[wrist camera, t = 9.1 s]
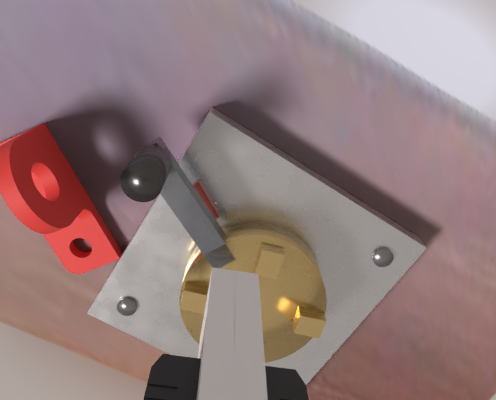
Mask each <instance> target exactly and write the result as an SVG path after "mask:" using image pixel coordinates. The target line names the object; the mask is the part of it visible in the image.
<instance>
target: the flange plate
mask: <svg viewBox="0 0 496 400" xmlns="http://www.w3.org/2000/svg"><path fill="white" fill-rule="evenodd" d="M178 164H179V166H180V167H181V169H182V170H183V172H184V173H185V175H186V176H187V178H188V179H189V181H190V182H191V184H192V185H193V187H194V188H195V189H196V191H197V192H198V194H199V195H200V197H201V198H202V200H203V201H204V203H205V204H206V206H207V207H208V209H209V210H210V212H211V213H212V215H213V216H214V218H215V219H216V221H217V222H218V224H219V225H220V227H221V228H224V227H226V226H229V225H232V224H237V223H242V222H263V223H269V224H273V225H277V226H280V227H282V228H284V229H287V230H289V231H290V232H292V233H294V234H295V235H297V236H298V237H299V238H300V239H302V240H303V241H304V242H305V243H306V245H307V246H308V247H309V248H310V250H311V251H312V252H313V254H314V256H315V258H316V260H317V263H318V266H319V269H320V273H321V276H322V279H323V283H324V286H325V290H326V296H327V305H326V312H325V318H326V324H325V326H324V329H323V331H322V334H321V336H320V339H319V338H315V337H313V338H312V339H311V340H310V341H309V342H308V343H307V344H306V345H305V346H303V347H302V348H301V349H299V350H298V351H296V352H295V353H293V354H291V355H289V356H287V357H284V358H282V359H279V360H275V361H272V362H266V363H265V366H271V367H279V368H287V369H295V370H296V371H297V372H298V374H299V375H300V377H301V378H302V380H303V382H304V383H305V385H307V384H308V382H309V381H310V380H311V379H312V378H313V377H314V376H315V374H316V373H317V372H318V371H319V370H320V369H321V368H322V366H323V365H324V364H325V363H326V362H327V361H328V360H329V359H330V357H331V356H332V355H333V354H334V353H335V352H336V351H337V349H338V348H339V347H340V346H341V345H342V344H343V343H344V342H345V340H346V339H347V338H348V337H349V336H350V335H351V334H352V332H353V331H354V330H355V329H356V328H357V327H358V326H359V325H360V323H361V322H362V321H363V320H364V319H365V318H366V317H367V315H368V314H369V313H370V312H371V311H372V310H373V309H374V308H375V306H376V305H377V304H378V303H379V302H380V301H381V300H382V298H383V297H384V296H385V295H386V294H387V293H388V292H389V290H390V289H391V288H392V287H393V286H394V285H395V284H396V283H397V281H398V280H399V279H400V278H401V277H402V276H403V275H404V273H405V272H406V271H407V270H408V269H409V268H410V267H411V266H412V264H413V263H414V262H415V261H416V260H417V259H418V258H419V256H420V255H421V254H422V253H423V252H424V251H425V250H426V249H427V247H426V246H425V245H424V244H423V242H422V241H421V240H420V238H419V237H418V236H416V235H415V234H413V233H412V232H410V231H408V230H407V229H405V228H404V227H402V226H400V225H399V224H397V223H396V222H394V221H392V220H391V219H389V218H388V217H386V216H385V215H383V214H381V213H380V212H378V211H377V210H375V209H373V208H372V207H370V206H369V205H367V204H365V203H364V202H362V201H361V200H359V199H358V198H356V197H354V196H353V195H351V194H350V193H348V192H346V191H345V190H343V189H342V188H340V187H338V186H337V185H335V184H334V183H332V182H330V181H329V180H327V179H326V178H324V177H323V176H321V175H319V174H318V173H316V172H315V171H313V170H311V169H310V168H308V167H307V166H305V165H303V164H302V163H300V162H299V161H297V160H296V159H294V158H292V157H291V156H289V155H288V154H286V153H284V152H283V151H281V150H280V149H278V148H276V147H275V146H273V145H272V144H270V143H269V142H267V141H265V140H264V139H262V138H261V137H259V136H257V135H256V134H254V133H253V132H251V131H249V130H248V129H246V128H245V127H243V126H241V125H240V124H238V123H237V122H235V121H234V120H232V119H230V118H229V117H227V116H226V115H224V114H222V113H221V112H219V111H218V110H216V109H214V108H213V107H211V109H210V111H209V112H208V114H207V116H206V117H205V119H204V121H203V122H202V124H201V125H200V127H199V129H198V130H197V132H196V134H195V135H194V137H193V139H192V140H191V142H190V143H189V145H188V147H187V148H186V150H185V152H184V153H183V155H182V157H181V158H180V160H179V161H178ZM196 247H197V245H196V244H195V242H194V241H193V239H192V238H191V236H190V235H189V234H188V232H187V231H186V229H185V228H184V227H183V225H182V224H181V222H180V221H179V219H178V218H177V217H176V215H175V214H174V212H173V211H172V210H171V208H170V207H169V205H168V204H167V202H166V201H165V200H164V198H163V197H162V195H161V194H159V195H158V196H157V197H156V199H155V201H154V202H153V204H152V206H151V207H150V209H149V211H148V212H147V214H146V215H145V217H144V219H143V220H142V222H141V224H140V225H139V227H138V229H137V230H136V232H135V233H134V235H133V237H132V238H131V240H130V242H129V243H128V245H127V247H126V248H125V250H124V251H123V253H122V255H121V257H120V259H119V260H118V261H117V263H116V265H115V266H114V268H113V269H112V271H111V273H110V274H109V276H108V278H107V279H106V281H105V283H104V284H103V286H102V287H101V289H100V291H99V292H98V294H97V296H96V297H95V299H94V301H93V303H92V305H91V306H90V308H89V310H88V312H87V314H89V315H91V316H93V317H95V318H97V319H99V320H101V321H103V322H105V323H107V324H109V325H112V326H114V327H116V328H118V329H120V330H122V331H124V332H126V333H128V334H130V335H132V336H134V337H136V338H138V339H140V340H142V341H144V342H146V343H148V344H151V345H153V346H155V347H157V348H159V349H161V350H163V351H165V352H167V353H169V354H171V355H176V356H184V357H192V358H198V351H199V344H198V343H197V342H196V341H195V340H194V339H193V337H192V336H191V335H190V333H189V332H188V330H187V329H186V327H185V325H184V323H183V320H182V317H181V313H180V309H179V308H180V292H181V287H182V283H183V278H184V274H185V269H186V266H187V263H188V260H189V258H190V256H191V254H192V253H193V251H194V250H195V249H196Z"/></svg>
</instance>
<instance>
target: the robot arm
mask: <svg viewBox="0 0 496 400" xmlns="http://www.w3.org/2000/svg"><path fill="white" fill-rule="evenodd" d="M144 400H308V394H307V389H306V385H305V383H304V382H303V380H302V378H301V377H300V375H299V374H298V372H297V371H296V370H295V369H287V368H279V367H271V366H265V357H264V343H263V329H262V315H261V302H260V288H259V274H255V273H248V272H241V271H234V270H227V269H221V268H214V267H212V271H211V277H210V283H209V288H208V294H207V300H206V306H205V312H204V318H203V323H202V329H201V335H200V343H199V351H198V358H192V357H184V356H176V355H169V354H162V356H161V357H160V358H159V359H158V360H157V361H156V362H155V364H154V365H153V366H152V367H151V371H150V375H149V379H148V383H147V387H146V391H145V396H144Z"/></svg>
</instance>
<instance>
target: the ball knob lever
mask: <svg viewBox="0 0 496 400" xmlns="http://www.w3.org/2000/svg"><path fill="white" fill-rule="evenodd" d="M121 187H122V189H123V191H124V193H125V194H126V195H127V196H128V197H129V198H131V199H133V200H135V201H138V202H148V201H151V200H153V199H155V198H156V197H157V196H158V195H159V194H161V195H162V197H163V198H164V200H165V201H166V202H167V204H168V205H169V207H170V208H171V210H172V211H173V212H174V214H175V215H176V217H177V218H178V219H179V221H180V222H181V224H182V225H183V227H184V228H185V229H186V231H187V232H188V234H189V235H190V236H191V238H192V239H193V241H194V242H195V244H196V245H197V247H196V249H195V250H194V251H193V253H192V254H191V256H190V258H189V260H188V263H187V266H186V269H185V274H184V278H183V283H182V287H181V292H180V308H179V309H180V313H181V317H182V320H183V323H184V325H185V327H186V329H187V330H188V332H189V333H190V335H191V336H192V337H193V339H194V340H195V341H196V342H197V343H198V344H199V343H200V335H201V329H202V323H203V318H204V312H205V306H206V300H207V294H208V288H209V283H210V277H211V271H212V267H214V268H221V269H227V270H234V271H241V272H248V273H255V274H259V288H260V302H261V315H262V329H263V343H264V357H265V363H266V362H272V361H275V360H279V359H282V358H284V357H287V356H289V355H291V354H293V353H295V352H296V351H298V350H299V349H301V348H302V347H303V346H305V345H306V344H307V343H308V342H309V341H310V340H311V339H312V338H313V337H315V338H319V339H320V336H321V334H322V331H323V329H324V326H325V324H326V318H325V312H326V305H327V296H326V290H325V286H324V283H323V279H322V276H321V273H320V269H319V266H318V263H317V260H316V258H315V256H314V254H313V252H312V251H311V250H310V248H309V247H308V246H307V245H306V243H305V242H304V241H303V240H302V239H300V238H299V237H298V236H297V235H295V234H294V233H292V232H290V231H289V230H287V229H284V228H282V227H280V226H277V225H273V224H269V223H263V222H242V223H237V224H232V225H229V226H226V227H224V228H221V227H220V225H219V224H218V222H217V221H216V219H215V218H214V216H213V215H212V213H211V212H210V210H209V209H208V207H207V206H206V204H205V203H204V201H203V200H202V198H201V197H200V195H199V194H198V192H197V191H196V189H195V188H194V187H193V185H192V184H191V182H190V181H189V179H188V178H187V176H186V175H185V173H184V172H183V170H182V169H181V167H180V166H179V164H178V163H177V161H176V160H175V158H174V157H173V155H172V154H171V152H170V151H169V149H168V148H167V146H166V145H165V143H164V142H163V140H162V139H161V137H159V138H158V139H156V140H154V141H153V142H151V143H149V144H148V145H146V146H144V147H142V148H141V149H139V150H138V151H137V152H136V154H135V155H134V158H133V159H132V160H131V162H130V163H129V164H128V166H127V167H126V168H125V170H124V171H123V173H122V175H121Z"/></svg>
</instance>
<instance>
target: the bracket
mask: <svg viewBox="0 0 496 400" xmlns="http://www.w3.org/2000/svg"><path fill="white" fill-rule="evenodd" d="M0 192H1V194H2V196H3V198H4V200H5V202H6V204H7V205H8V207H9V208H10V210H11V211H12V212H13V214H14V215H15V216H16V217H17V218H18V219H19V220H20V221H21V222H22V223H23V224H24V225H26V226H27V227H28V228H30V229H31V230H33V231H35V232H38V233H41V234H43V235H44V237H45V238H46V240H47V241H48V243H49V244H50V246H51V247H52V249H53V250H54V252H55V253H56V255H57V256H58V258H59V259H60V261H61V262H62V264H63V265H64V267H65V268H66V269H67V270H68V271H70V272H72V273H75V274H82V273H85V272H87V271H90V270H92V269H95V268H97V267H100V266H102V265H105V264H107V263H110V262H112V261H115V260H117V259H120V257H121V255H122V253H123V252H122V251H121V249H120V247H119V246H118V244H117V242H116V241H115V239H114V237H113V236H112V234H111V233H110V231H109V229H108V228H107V226H106V224H105V223H104V221H103V219H102V218H101V216H100V214H99V213H98V211H97V209H96V208H95V206H94V204H93V203H92V201H91V199H90V198H89V196H88V194H87V193H86V191H85V189H84V188H83V186H82V184H81V183H80V181H79V179H78V178H77V176H76V174H75V173H74V171H73V169H72V168H71V166H70V164H69V163H68V161H67V159H66V158H65V156H64V154H63V153H62V151H61V149H60V148H59V146H58V144H57V143H56V141H55V139H54V138H53V136H52V135H51V133H50V131H49V130H48V128H47V126H46V125H45V123H43V124H41V125H38V126H36V127H34V128H32V129H30V130H27V131H25V132H23V133H21V134H19V135H16V136H14V137H12V138H10V139H8V140H5V141H3V142H1V143H0ZM76 238H83V239H85V240H87V241H88V242H89V243H90V244H91V246H92V251H89V252H83V251H80V250H79V249H77V248H76V246H75V245H74V239H76Z"/></svg>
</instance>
